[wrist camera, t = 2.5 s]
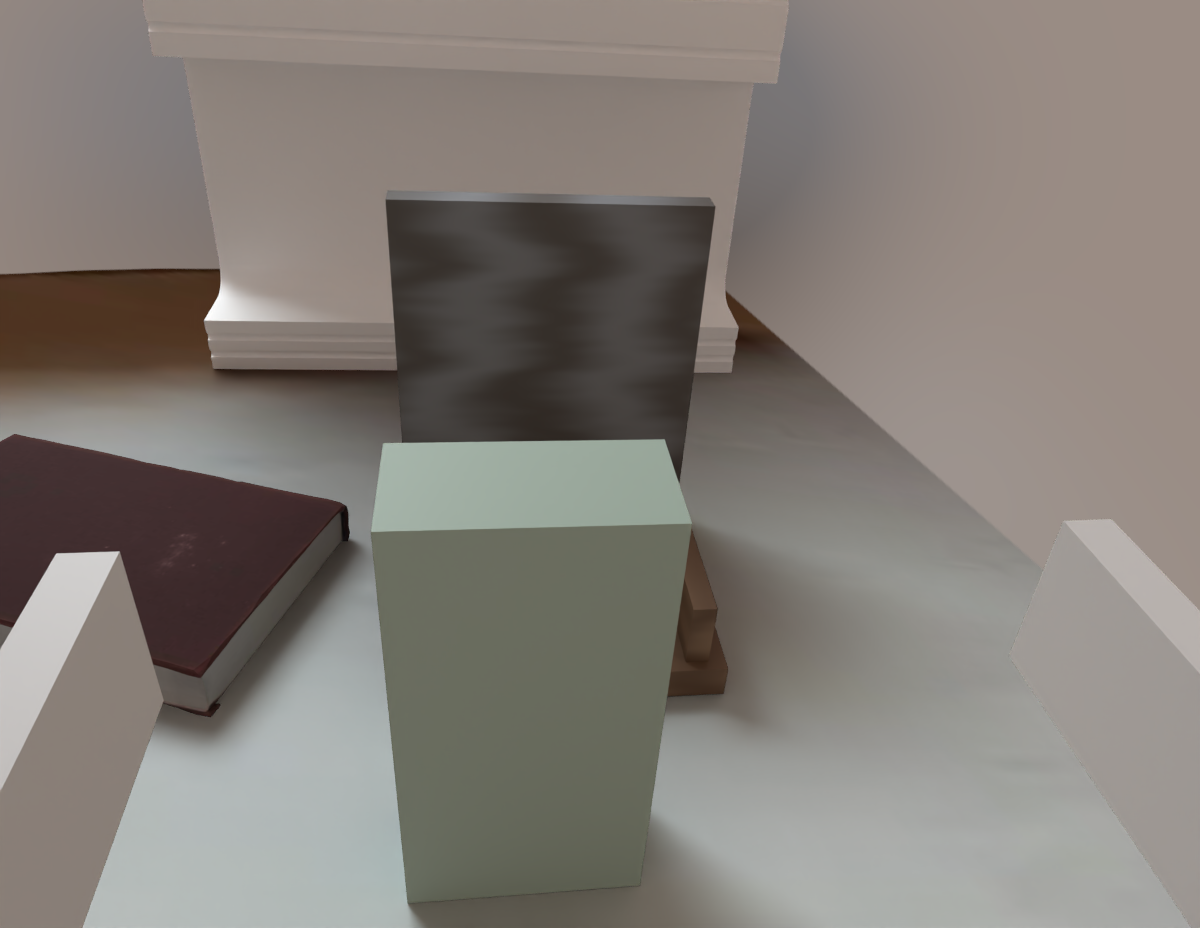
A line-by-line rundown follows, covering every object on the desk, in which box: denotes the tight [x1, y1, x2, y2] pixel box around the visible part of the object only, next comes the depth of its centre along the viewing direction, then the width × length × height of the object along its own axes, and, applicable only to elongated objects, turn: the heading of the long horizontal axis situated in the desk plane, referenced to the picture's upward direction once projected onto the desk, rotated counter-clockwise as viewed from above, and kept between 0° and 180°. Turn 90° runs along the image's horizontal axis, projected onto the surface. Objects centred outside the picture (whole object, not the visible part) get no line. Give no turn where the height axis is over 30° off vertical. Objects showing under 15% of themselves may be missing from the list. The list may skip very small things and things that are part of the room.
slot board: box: [385, 190, 728, 696], centre depth 40 cm, size 14×13×18 cm
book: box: [0, 434, 350, 717], centre depth 44 cm, size 12×19×3 cm, turn 76°
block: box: [142, 0, 789, 373], centre depth 59 cm, size 35×8×28 cm, turn 95°
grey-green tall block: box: [371, 439, 692, 903], centre depth 29 cm, size 8×4×16 cm, turn 97°
